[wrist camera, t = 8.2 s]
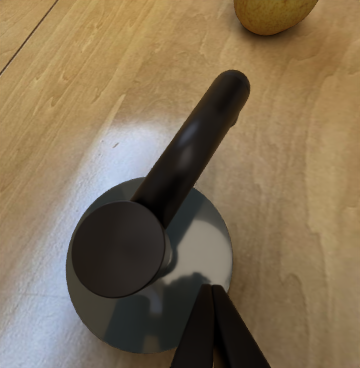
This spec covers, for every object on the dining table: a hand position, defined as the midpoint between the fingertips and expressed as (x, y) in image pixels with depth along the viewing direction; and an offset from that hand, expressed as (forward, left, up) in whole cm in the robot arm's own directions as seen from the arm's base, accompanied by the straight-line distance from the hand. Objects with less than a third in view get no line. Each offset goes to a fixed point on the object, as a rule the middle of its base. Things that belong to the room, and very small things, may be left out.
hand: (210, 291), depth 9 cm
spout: (+6, 0, -3) cm, 6 cm away
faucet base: (+2, +3, -8) cm, 9 cm away
